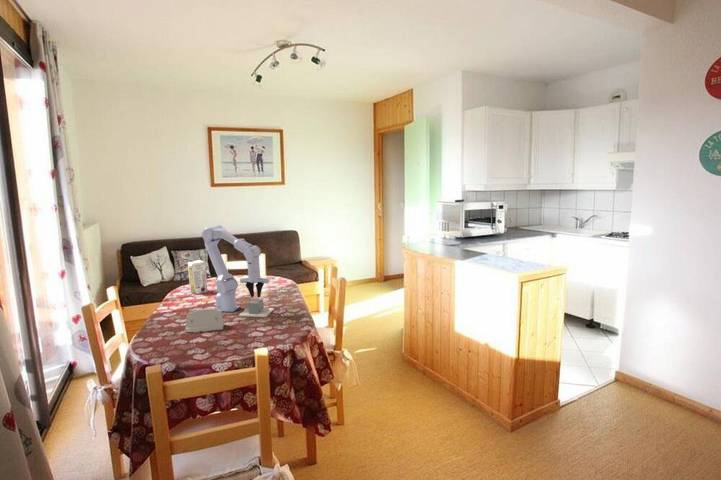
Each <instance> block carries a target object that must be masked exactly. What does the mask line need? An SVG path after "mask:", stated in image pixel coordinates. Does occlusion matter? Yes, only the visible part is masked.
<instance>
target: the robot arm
mask: <svg viewBox="0 0 721 480" xmlns="http://www.w3.org/2000/svg"><path fill="white" fill-rule="evenodd" d="M201 236H202V238H203V242H204V246H205V249H206V252H207V254H208V256H209V259H210V261H211V264H212V266H213V268H214V271H215V273H216V275H217V279H216V280H215V284H216V290H217V292H218V293H217V294H216V296H215V304H216V310H220V311H222V312H230V313H231V312H232V313H233V312H235V311H236V310H237V309H239V308H241V307H240V305H237V298H236V297H237V296H236V292H237V289H238V286H239V283H238V281H237V279H235V277H234V275H233V274H231V273H229V271H228V269H227V266H226V263H225V261H224V259H223V256H222V254H221V251H220V250H219V247H218V244H219V242H220V241H221V240H222V239H223V240H225V241H226V242H228V243H230V244H231V245H233V248H234V249H236V250H237V251H238V252H240V253H242V254H243V255H244V258H245V260H246V262H247V263H246V264H247V277H244V278H243V277H242V278H240V279H239V281H240V284H245V287H246V288H247V290H248V293H249V294H250V298H253V297H255V290H254V288H255V287H256V296H257V298H261V295H262V291H263V286H264V285H265V284H269V283H270V278H263V277H261V268H260V267H261V266H260V256H261V253H262V250H261V248H260V247H259V246H258V245H252V243H249V242H247V241H246V239H245V238H237V237H235V235H233V234H231V233H230V232H229V231H228V230H227V229H226V227H224V226H222V225H219V224H217V225H216V226H209V227H205V228H203V231H202V232H201Z"/></svg>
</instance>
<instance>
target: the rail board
mask: <svg viewBox="0 0 721 480" xmlns="http://www.w3.org/2000/svg"><path fill="white" fill-rule="evenodd" d="M273 311H275V307H264V308H261V309H260V310H259V314H249V309H248V307H245V308H244V310H243V311H242V312H240V313H239V314H238V316H239V317H253V318H254V317H255V318H266V317H268V316H269V315H270V314H271V313H272V312H273Z"/></svg>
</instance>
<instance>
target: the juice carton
mask: <svg viewBox="0 0 721 480" xmlns="http://www.w3.org/2000/svg"><path fill="white" fill-rule="evenodd" d="M187 269H188V279H189V280H188V281H189V290H190V294H193V295H200V294H202V293H203V294H204V293H207V292H208V283H207V281H208V279H207V273H206V263H205V260H199V259H197V260H194V261H188V262H187Z"/></svg>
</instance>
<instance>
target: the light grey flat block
mask: <svg viewBox="0 0 721 480" xmlns="http://www.w3.org/2000/svg"><path fill="white" fill-rule="evenodd" d="M185 322H186V323H185V332H184V333H186V332H193V333H200V332H199V331H202V332H209V331H219V330H224V327H225V325H226V324H225V320H224V315H223V311H220V310H217V308H216V309H214V308H202V309H197V310H194V311H191V312H189V313H187V314H186V321H185Z"/></svg>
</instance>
